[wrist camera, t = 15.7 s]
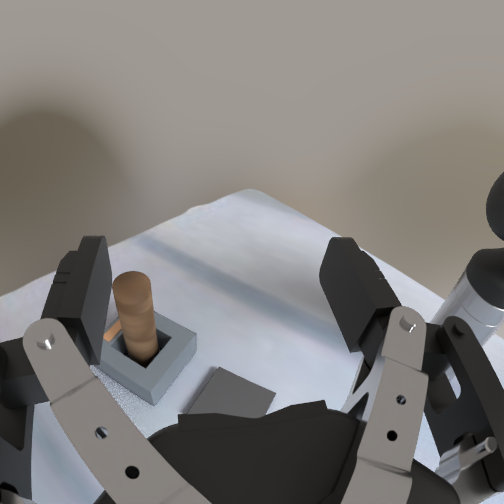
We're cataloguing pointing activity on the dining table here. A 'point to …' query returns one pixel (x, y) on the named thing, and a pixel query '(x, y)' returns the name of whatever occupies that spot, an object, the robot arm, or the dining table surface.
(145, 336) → the walnut peg
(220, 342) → the dining table surface
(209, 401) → the pad
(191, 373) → the dining table surface
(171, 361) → the socket block
